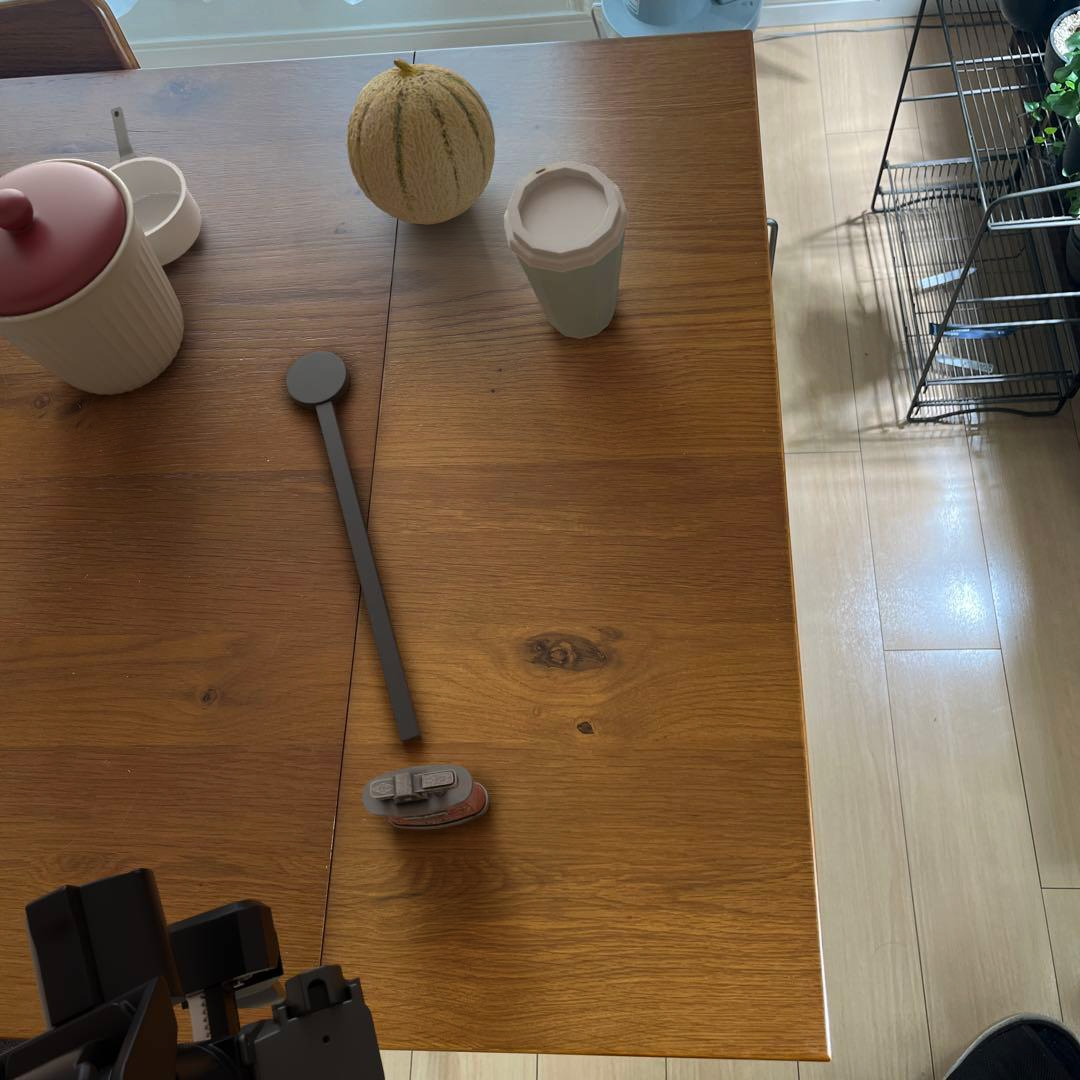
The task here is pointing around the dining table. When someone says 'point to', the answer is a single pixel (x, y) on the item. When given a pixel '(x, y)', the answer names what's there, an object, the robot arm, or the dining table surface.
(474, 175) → the cantaloupe
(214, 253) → the dining table surface
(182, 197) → the saucepan
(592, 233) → the disposable coffee cup
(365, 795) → the lighter
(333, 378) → the spoon
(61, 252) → the canister
